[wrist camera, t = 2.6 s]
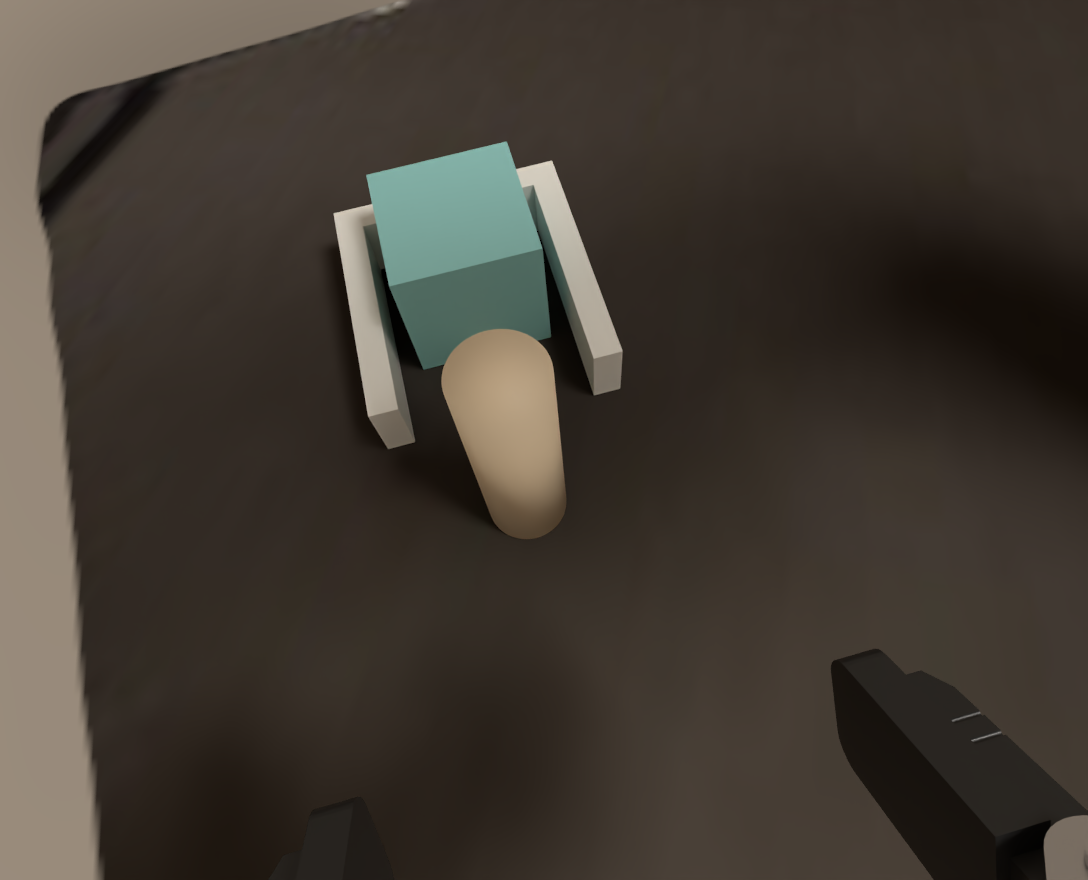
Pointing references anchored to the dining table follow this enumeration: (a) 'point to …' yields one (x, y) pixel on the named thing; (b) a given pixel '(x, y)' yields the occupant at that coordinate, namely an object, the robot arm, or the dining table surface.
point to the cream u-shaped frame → (375, 322)
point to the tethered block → (480, 321)
